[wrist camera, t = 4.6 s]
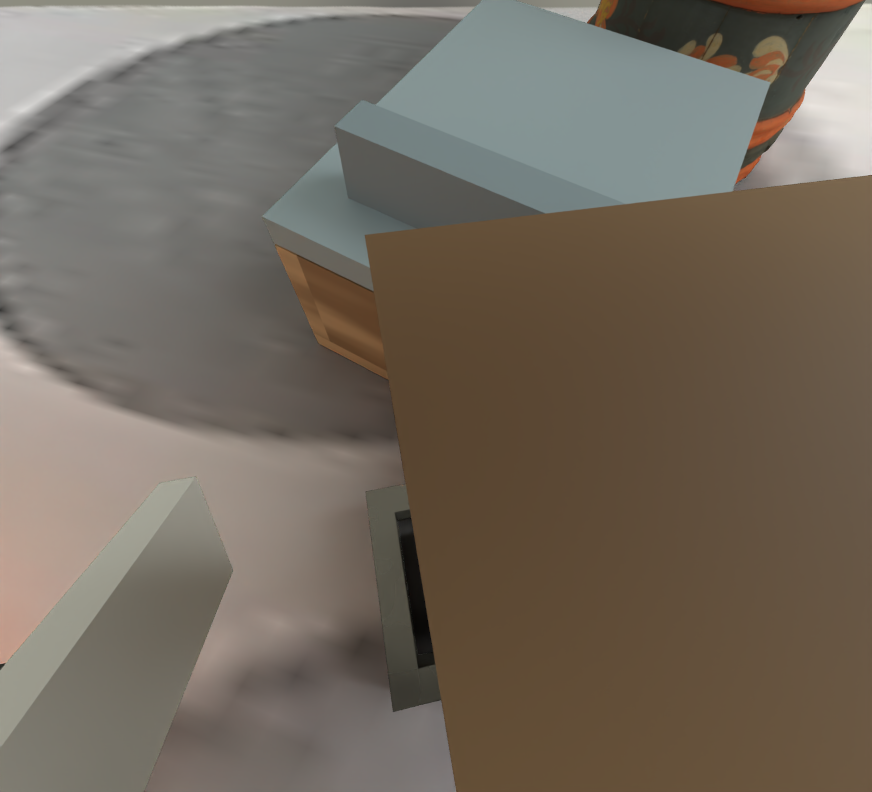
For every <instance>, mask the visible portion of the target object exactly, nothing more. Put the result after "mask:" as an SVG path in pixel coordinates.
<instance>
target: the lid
mask: <svg viewBox="0 0 872 792" xmlns="http://www.w3.org/2000/svg"><path fill="white" fill-rule="evenodd" d="M770 83H771V82H768V81H765V80H761V79H758V78H755V77H752V76H749V75H746V74H743V73H740V72H737V71H733V70H730V69H727V68H724V67H721V66H718V65H715V64H712V63H709V62H706V61H702V60H699V59H696V58H693V57H690V56H687V55H684V54H681V53H678V52H675V51H671V50H668V49H665V48H662V47H659V46H656V45H653V44H650V43H647V42H643V41H640V40H637V39H634V38H631V37H628V36H625V35H622V34H619V33H616V32H612V31H609V30H606V29H603V28H600V27H597V26H594V25H591V24H588V23H585V22H581V21H578V20H575V19H572V18H569V17H566V16H563V15H560V14H557V13H553V12H550V11H547V10H544V9H541V8H538V7H535V6H532V5H529V4H526V3H522V2H519V1H516V0H482V1H481V2H480V3H479V4H478V5H477V6H476V7H475V8H474V9H473V10H472V11H471V12H470V13H469V14H468V15H467V16H466V17H465V18H464V19H463V20H462V21H461V22H460V23H458V24H457V25H456V26H455V27H454V28H453V29H452V30H451V31H450V32H449V33H448V34H447V35H446V36H445V37H444V38H443V39H442V40H441V41H440V42H439V43H438V44H437V45H436V46H435V47H434V48H433V49H432V50H431V51H430V52H429V53H428V54H427V55H426V56H425V57H424V58H423V59H422V60H421V61H420V62H419V63H418V64H417V65H416V66H415V67H414V68H413V69H412V70H411V71H410V72H409V73H408V74H407V75H406V76H404V77H403V78H402V79H401V80H400V81H399V82H398V83H397V84H396V85H395V86H394V87H393V88H392V89H391V90H390V91H389V92H388V93H387V94H386V95H385V96H384V97H383V98H382V99H381V100H380V101H379V102H378V103H377V104H376V105H374V104H372V103H369V102H367V101H364V100H361V101H360V102H359V103H358V104H357V105H356V106H355V107H354V108H353V109H352V110H351V111H350V112H349V113H348V114H347V115H345V116H344V117H343V118H342V119H341V120H340V121H339V122H338V123H337V124H336V125H335V126H334V127H335V133H336V138H337V143H336V144H335V145H334V146H333V147H332V148H331V149H330V150H329V151H328V152H327V153H326V154H325V155H324V156H323V157H322V158H321V159H320V160H319V161H318V162H317V163H316V164H315V165H314V166H313V167H312V168H311V169H310V170H309V171H308V172H307V173H306V174H305V175H304V176H303V177H302V178H301V179H300V180H299V181H297V182H296V183H295V184H294V185H293V186H292V187H291V188H290V189H289V190H288V191H287V192H286V193H285V194H284V195H283V196H282V197H281V198H280V199H279V200H278V201H277V202H276V203H275V204H274V205H273V206H272V207H271V208H270V209H269V210H268V211H267V212H266V213H265V214H264V215H263V216H262V218H263V220H264V222H265V225H266V227H267V229H268V231H269V234H270V236H271V238H272V240H273V243H275V244H277V245H279V246H281V247H283V248H285V249H287V250H289V251H291V252H294V253H296V254H298V255H300V256H302V257H304V258H306V259H308V260H310V261H312V262H314V263H316V264H318V265H320V266H322V267H324V268H326V269H329V270H331V271H333V272H335V273H337V274H339V275H341V276H343V277H345V278H347V279H349V280H351V281H353V282H355V283H357V284H359V285H361V286H364V287H366V288H368V289H370V290H372V291H374V289H373V283H372V277H371V271H370V265H369V259H368V253H367V247H366V241H365V235H368V234H376V233H385V232H393V231H402V230H410V229H419V228H427V227H436V226H444V225H453V224H461V223H470V222H478V221H487V220H495V219H503V218H512V217H520V216H529V215H537V214H546V213H554V212H563V211H571V210H580V209H588V208H597V207H605V206H614V205H622V204H631V203H639V202H648V201H656V200H665V199H673V198H681V197H690V196H698V195H707V194H715V193H724V192H732V191H733V188H734V186H735V183H736V180H737V177H738V174H739V171H740V168H741V166H742V163H743V160H744V157H745V154H746V151H747V148H748V146H749V143H750V140H751V137H752V134H753V131H754V128H755V126H756V123H757V120H758V117H759V114H760V111H761V108H762V106H763V103H764V100H765V97H766V94H767V91H768V88H769V85H770Z"/></svg>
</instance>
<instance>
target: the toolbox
mask: <svg viewBox="0 0 872 792" xmlns="http://www.w3.org/2000/svg"><path fill="white" fill-rule="evenodd" d="M275 247H276V249H277V252H278V254H279V256H280V258H281V261H282V263H283V265H284V267H285V270H286V272H287V274H288V276H289V279H290V281H291V283H292V285H293V288H294V290H295V292H296V294H297V297H298V299H299V301H300V303H301V305H302V308H303V310H304V312H305V314H306V317H307V319H308V321H309V323H310V326H311V328H312V330H313V332H314V335H315V337H316V339H317V341H318V343H319V344H321V345H323V346H325V347H326V348H328V349H330V350H332V351H334V352H336V353H338V354H340V355H342V356H344V357H345V358H347V359H349V360H351V361H353V362H355V363H357V364H359V365H361V366H363V367H365V368H366V369H368V370H370V371H372V372H374V373H376V374H378V375H380V376H382V377H384V378H385V379H387V380H388V374H387V368H386V362H385V356H384V350H383V344H382V338H381V332H380V326H379V319H378V313H377V307H376V301H375V295H374V291H372V290H370V289H368V288H366V287H364V286H361V285H359V284H357V283H355V282H353V281H351V280H349V279H347V278H345V277H343V276H341V275H339V274H337V273H335V272H333V271H331V270H329V269H326V268H324V267H322V266H320V265H318V264H316V263H314V262H312V261H310V260H308V259H306V258H304V257H302V256H300V255H298V254H296V253H294V252H291V251H289V250H287V249H285V248H283V247H281V246H279V245H277V244H275Z"/></svg>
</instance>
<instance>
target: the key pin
mask: <svg viewBox="0 0 872 792" xmlns="http://www.w3.org/2000/svg"><path fill="white" fill-rule="evenodd" d="M365 241H366V247H367V253H368V259H369V265H370V271H371V277H372V283H373V289H374V295H375V301H376V307H377V313H378V319H379V326H380V332H381V338H382V344H383V350H384V356H385V362H386V368H387V374H388V380H389V386H390V392H391V398H392V404H393V410H394V416H395V423H396V429H397V435H398V441H399V447H400V453H401V459H402V465H403V471H404V477H405V483H406V489H407V495H408V501H409V507H410V513H411V519H412V526H413V532H414V538H415V544H416V550H417V556H418V562H419V568H420V574H421V580H422V586H423V592H424V598H425V604H426V610H427V616H428V623H429V629H430V635H431V641H432V647H433V653H434V659H435V665H436V671H437V677H438V683H439V689H440V695H441V701H442V707H443V713H444V719H445V725H446V732H447V738H448V744H449V750H450V756H451V762H452V768H453V774H454V780H455V786H456V792H872V175H868V176H860V177H851V178H843V179H834V180H826V181H817V182H809V183H800V184H792V185H783V186H775V187H766V188H758V189H749V190H741V191H732V192H724V193H715V194H707V195H698V196H690V197H681V198H673V199H665V200H656V201H648V202H639V203H631V204H622V205H614V206H605V207H597V208H588V209H580V210H571V211H563V212H554V213H546V214H537V215H529V216H520V217H512V218H503V219H495V220H487V221H478V222H470V223H461V224H453V225H444V226H436V227H427V228H419V229H410V230H402V231H393V232H385V233H376V234H368V235H365Z"/></svg>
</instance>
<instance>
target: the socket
mask: <svg viewBox="0 0 872 792" xmlns="http://www.w3.org/2000/svg"><path fill="white" fill-rule="evenodd" d="M366 500H367V508H368V516H369V524H370V532H371V540H372V548H373V556H374V564H375V572H376V580H377V588H378V596H379V604H380V612H381V620H382V628H383V636H384V644H385V652H386V660H387V668H388V676H389V684H390V692H391V700H392V708H393V712H395V711H399V710H403V709H407V708H411V707H415V706H419V705H423V704H427V703H431V702H435V701H439V700H441V695H440V689H439V683H438V677H437V671H436V665H435V659H434V653H433V652H428V653H424V654H420V655H418V650H417V643H416V636H415V630H414V623H413V617H412V610H411V603H410V597H409V590H408V584H407V577H406V571H405V564H404V557H403V551H402V544H401V538H400V531H399V525H398V520H401V519H406V518H411V513H410V507H409V501H408V495H407V489H406V484H403V485H398V486H393V487H387V488H382V489H377V490H371V491H366Z"/></svg>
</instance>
